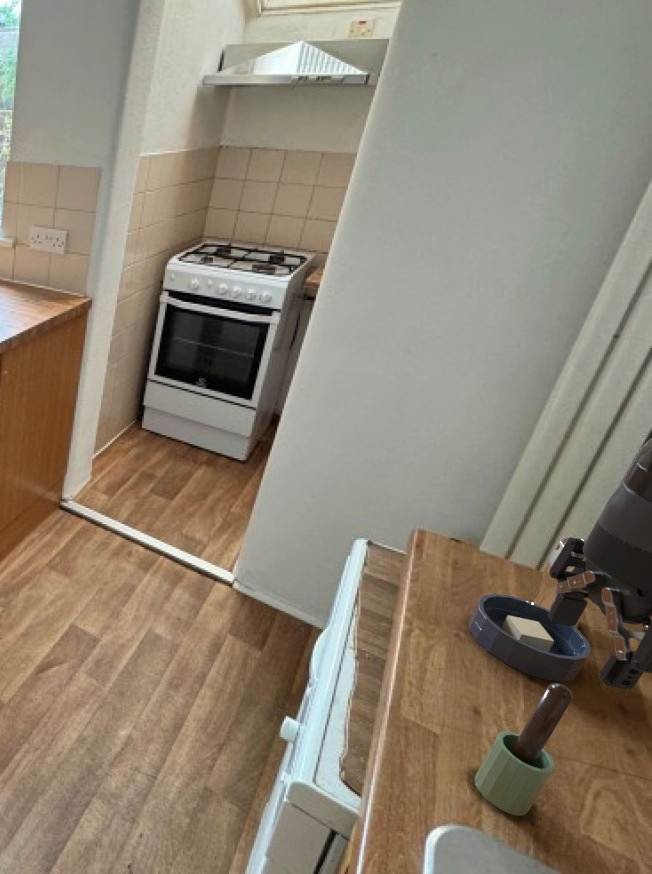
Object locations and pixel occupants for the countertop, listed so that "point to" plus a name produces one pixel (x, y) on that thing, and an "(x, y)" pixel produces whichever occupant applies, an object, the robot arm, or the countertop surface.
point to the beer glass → (553, 581)
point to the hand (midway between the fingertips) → (584, 651)
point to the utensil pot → (512, 776)
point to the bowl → (519, 655)
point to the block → (528, 632)
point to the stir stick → (542, 723)
